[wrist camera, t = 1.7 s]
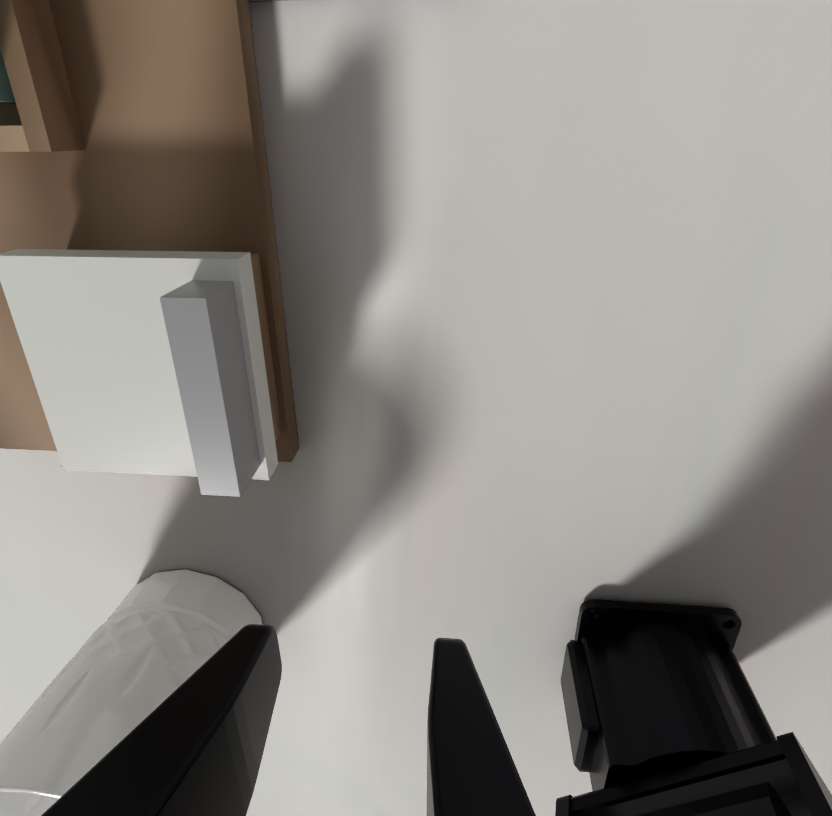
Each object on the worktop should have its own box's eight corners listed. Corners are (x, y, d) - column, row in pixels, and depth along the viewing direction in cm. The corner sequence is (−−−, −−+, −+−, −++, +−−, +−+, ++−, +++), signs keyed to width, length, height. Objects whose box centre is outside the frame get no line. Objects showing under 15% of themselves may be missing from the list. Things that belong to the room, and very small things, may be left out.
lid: (250, 252, 16) (209, 274, 14) (278, 464, 19) (249, 513, 17) (17, 248, 17) (-63, 269, 14) (81, 455, 20) (25, 501, 17)
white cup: (245, 548, 25) (116, 784, 16) (298, 671, 28) (217, 923, 19) (90, 566, 26) (-109, 792, 17) (158, 681, 29) (21, 920, 20)
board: (229, -169, 14) (183, -225, 12) (298, 448, 22) (279, 483, 20) (-200, -146, 15) (-317, -194, 13) (14, 435, 23) (-34, 468, 21)
